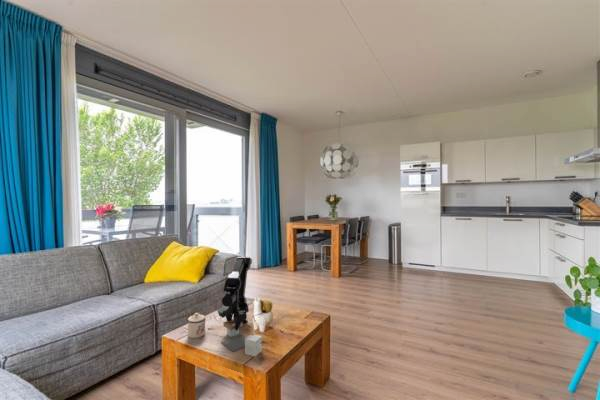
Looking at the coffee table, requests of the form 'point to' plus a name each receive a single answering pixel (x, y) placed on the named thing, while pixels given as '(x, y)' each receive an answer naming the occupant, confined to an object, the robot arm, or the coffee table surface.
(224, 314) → the robot arm
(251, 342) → the skincare box
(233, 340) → the mat
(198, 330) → the teacup with lid
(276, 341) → the coffee table surface
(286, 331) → the coffee table surface
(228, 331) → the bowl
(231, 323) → the lid
